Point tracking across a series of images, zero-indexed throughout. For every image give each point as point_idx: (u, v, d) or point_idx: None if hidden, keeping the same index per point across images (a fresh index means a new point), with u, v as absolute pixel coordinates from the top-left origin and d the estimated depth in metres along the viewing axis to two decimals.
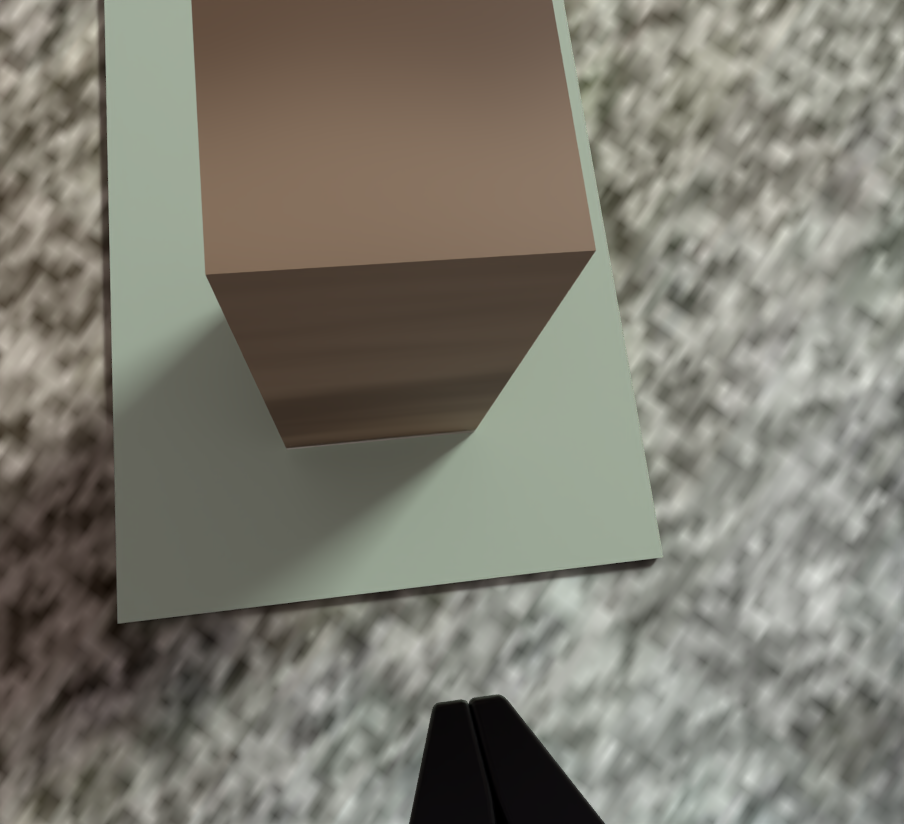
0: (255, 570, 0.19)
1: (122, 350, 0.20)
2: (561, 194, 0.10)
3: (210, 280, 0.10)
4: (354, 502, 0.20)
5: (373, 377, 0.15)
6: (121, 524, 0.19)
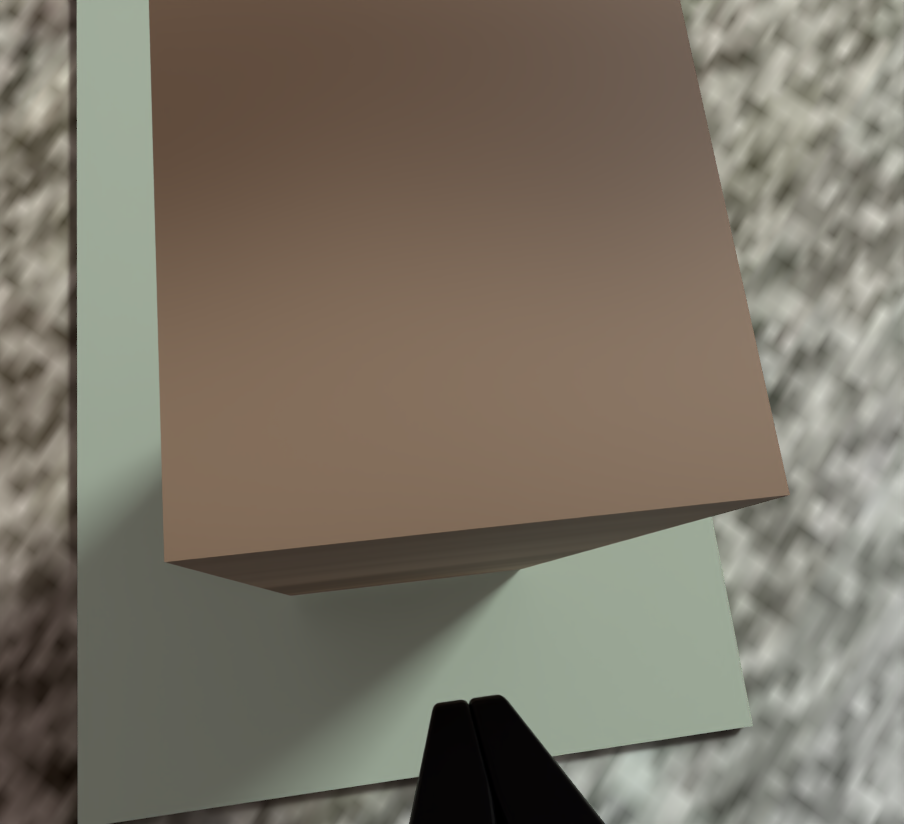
0: (251, 754, 0.16)
1: (90, 472, 0.17)
2: (731, 401, 0.07)
3: (174, 562, 0.06)
4: (374, 662, 0.16)
5: (410, 569, 0.11)
6: (85, 696, 0.16)
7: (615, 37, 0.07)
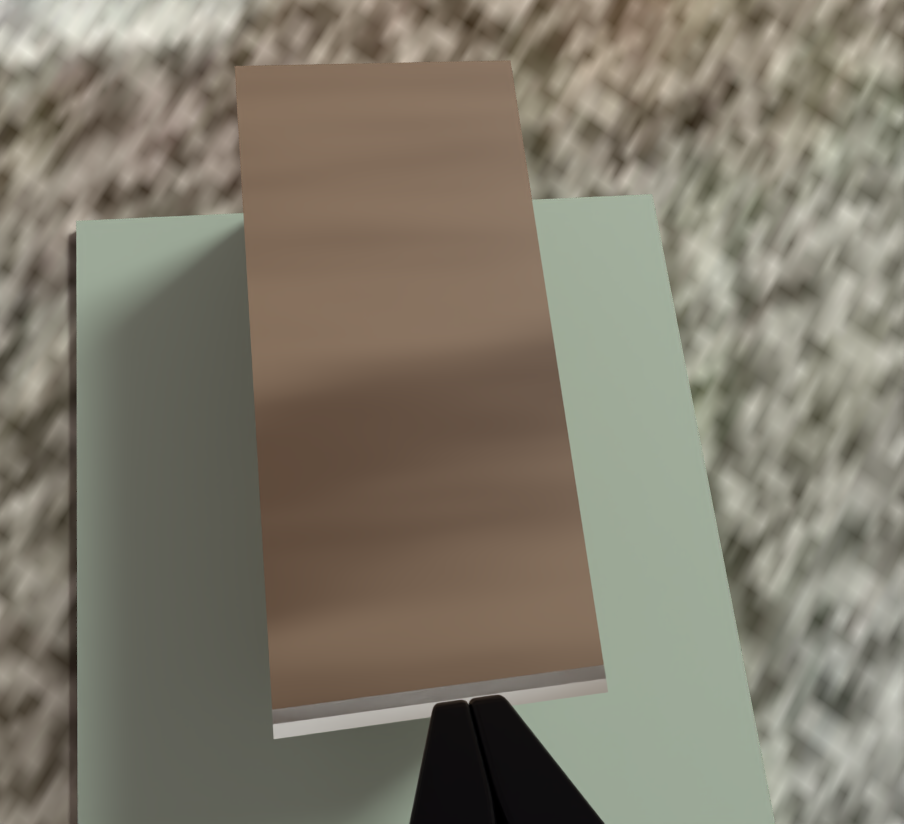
0: None
1: None
2: None
3: (236, 76, 0.14)
4: None
5: (383, 326, 0.13)
6: None
7: None
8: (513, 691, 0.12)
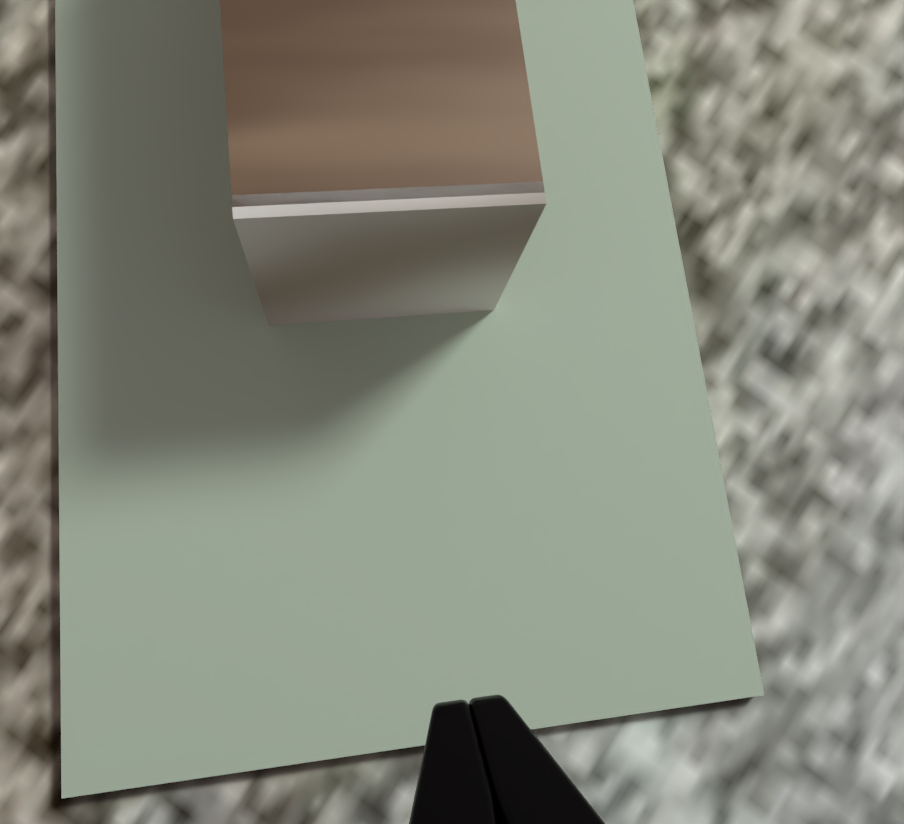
0: (243, 722, 0.15)
1: (72, 429, 0.16)
2: None
3: None
4: (371, 629, 0.16)
5: None
6: (68, 662, 0.15)
7: None
8: (457, 195, 0.12)
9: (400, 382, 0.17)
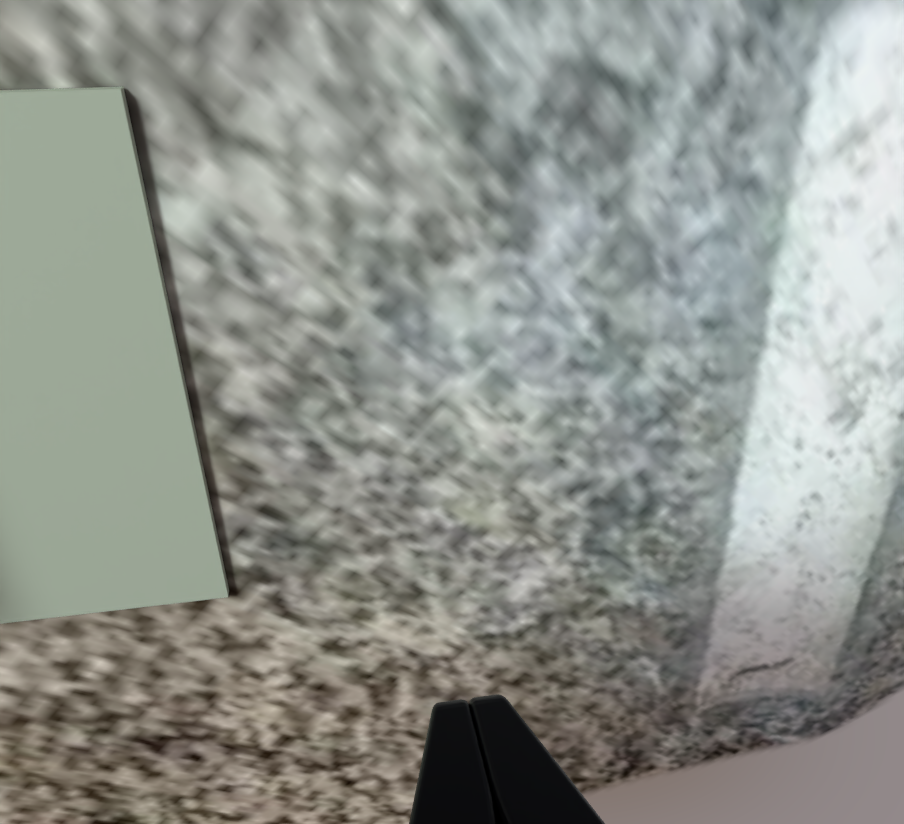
0: (175, 511, 0.21)
1: None
2: None
3: None
4: (96, 435, 0.19)
5: None
6: (142, 602, 0.22)
7: None
8: None
9: None
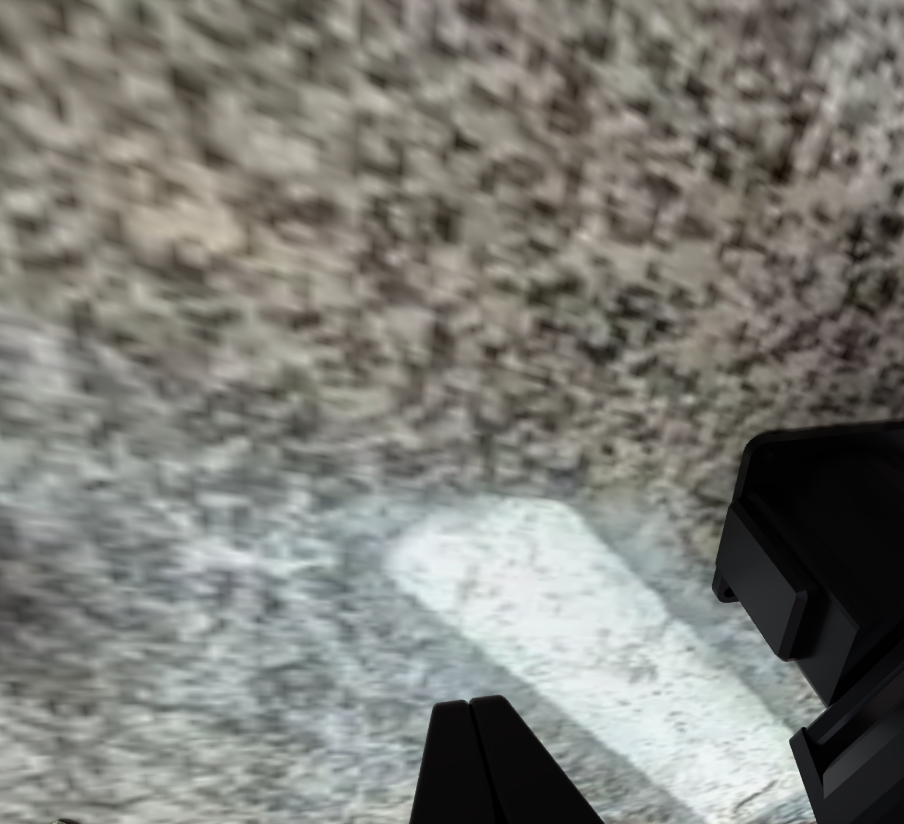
0: None
1: None
2: None
3: None
4: None
5: None
6: None
7: None
8: None
9: None
